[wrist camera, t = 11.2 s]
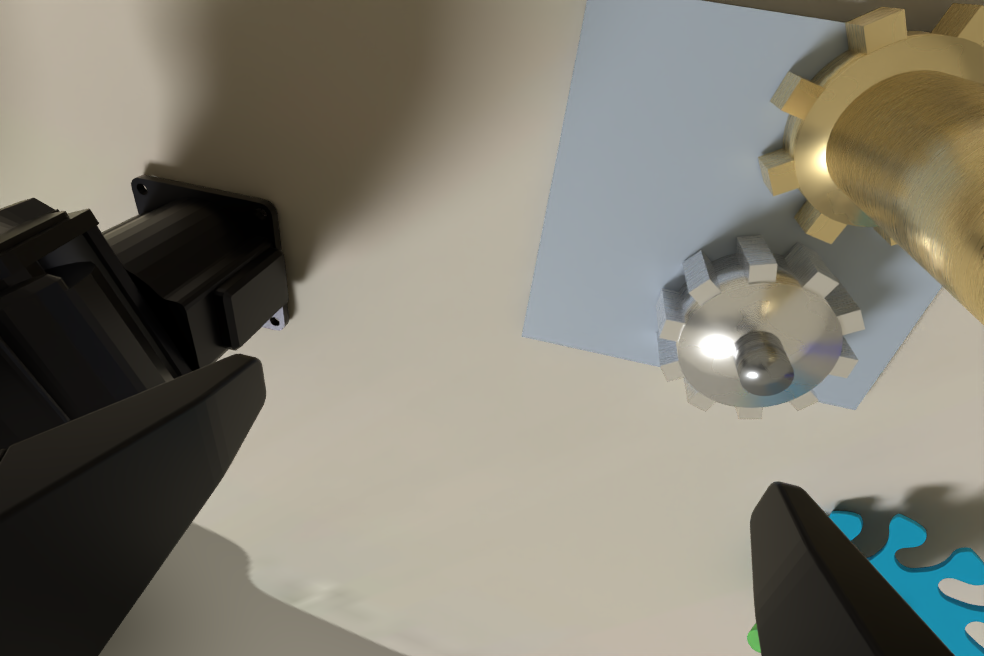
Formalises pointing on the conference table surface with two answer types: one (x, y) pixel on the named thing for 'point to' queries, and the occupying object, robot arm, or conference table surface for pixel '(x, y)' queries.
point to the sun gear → (756, 328)
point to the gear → (921, 582)
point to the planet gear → (894, 143)
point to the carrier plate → (692, 180)
